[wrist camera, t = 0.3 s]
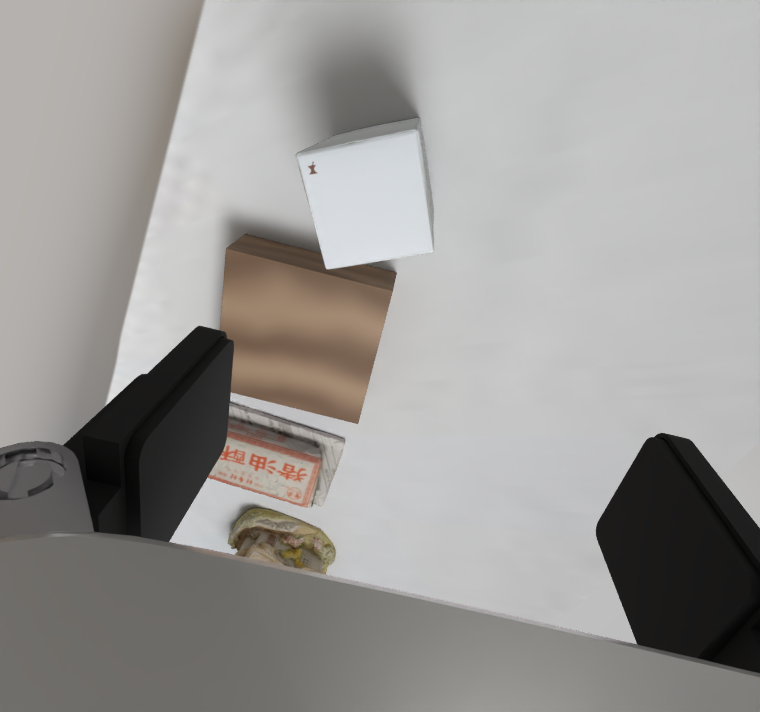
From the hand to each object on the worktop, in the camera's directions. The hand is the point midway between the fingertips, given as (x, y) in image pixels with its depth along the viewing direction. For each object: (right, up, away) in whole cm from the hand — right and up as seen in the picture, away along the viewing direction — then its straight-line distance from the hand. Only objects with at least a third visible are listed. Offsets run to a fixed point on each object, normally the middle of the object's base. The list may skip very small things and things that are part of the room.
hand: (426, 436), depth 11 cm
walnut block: (-8, +5, +37) cm, 38 cm away
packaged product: (-15, -8, +45) cm, 48 cm away
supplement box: (-1, +17, +29) cm, 34 cm away
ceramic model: (-13, -22, +52) cm, 58 cm away
